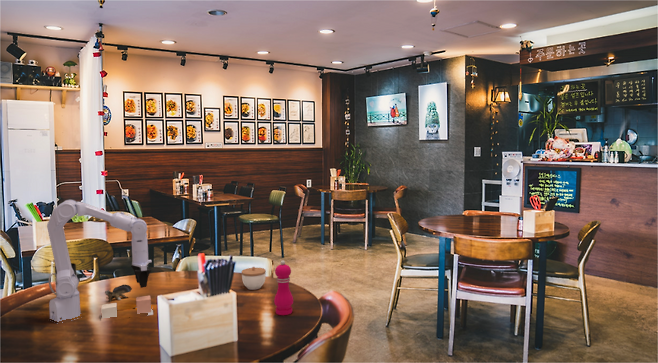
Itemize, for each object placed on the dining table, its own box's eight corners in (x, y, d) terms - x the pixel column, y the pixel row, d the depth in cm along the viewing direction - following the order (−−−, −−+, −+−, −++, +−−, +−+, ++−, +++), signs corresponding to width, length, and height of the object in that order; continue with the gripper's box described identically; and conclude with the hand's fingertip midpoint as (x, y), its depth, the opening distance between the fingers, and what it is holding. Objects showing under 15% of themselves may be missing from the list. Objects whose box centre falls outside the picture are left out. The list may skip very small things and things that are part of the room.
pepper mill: (290, 316, 169) (289, 263, 167) (271, 315, 170) (270, 262, 169) (295, 309, 176) (294, 258, 174) (277, 308, 177) (276, 257, 176)
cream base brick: (101, 319, 167) (101, 308, 167) (102, 315, 172) (101, 304, 171) (116, 317, 169) (116, 306, 169) (117, 313, 174) (116, 302, 174)
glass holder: (83, 297, 195) (81, 262, 194) (61, 309, 181) (59, 271, 180) (64, 297, 196) (62, 262, 195) (40, 308, 182) (38, 271, 181)
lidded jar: (239, 286, 207) (238, 265, 207) (262, 282, 212) (261, 262, 211) (245, 292, 198) (244, 271, 197) (269, 289, 202) (268, 268, 202)
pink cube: (137, 314, 172) (136, 301, 172) (136, 309, 177) (136, 297, 176) (151, 312, 174) (150, 299, 174) (150, 307, 179) (150, 295, 178)
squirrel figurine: (116, 302, 184) (135, 292, 192) (107, 287, 185) (126, 278, 192) (109, 309, 188) (127, 299, 196) (100, 295, 189) (119, 285, 196)
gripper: (154, 252, 174) (156, 287, 175) (147, 246, 186) (149, 278, 187) (134, 255, 170) (136, 290, 171) (128, 248, 183) (130, 281, 184)
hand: (141, 284), depth 179 cm, fingers open, 7 cm apart
